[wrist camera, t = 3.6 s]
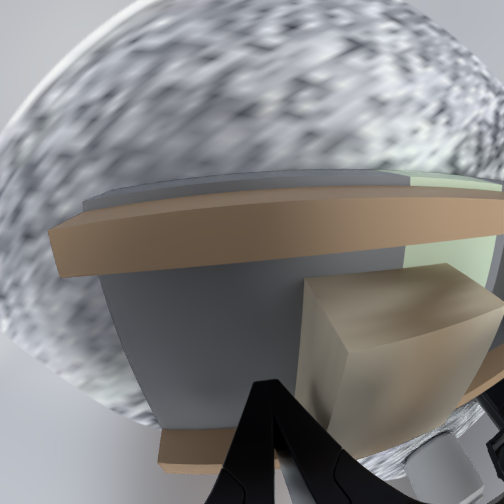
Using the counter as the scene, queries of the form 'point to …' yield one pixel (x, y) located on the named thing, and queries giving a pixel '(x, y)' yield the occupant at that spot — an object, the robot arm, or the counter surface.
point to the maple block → (391, 351)
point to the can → (444, 473)
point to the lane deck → (261, 277)
